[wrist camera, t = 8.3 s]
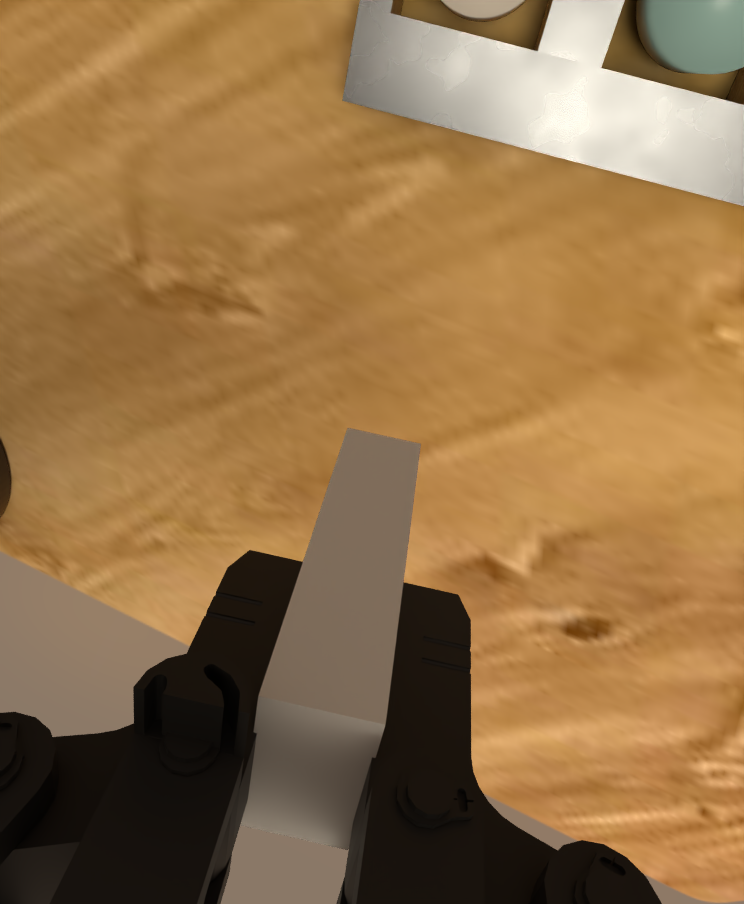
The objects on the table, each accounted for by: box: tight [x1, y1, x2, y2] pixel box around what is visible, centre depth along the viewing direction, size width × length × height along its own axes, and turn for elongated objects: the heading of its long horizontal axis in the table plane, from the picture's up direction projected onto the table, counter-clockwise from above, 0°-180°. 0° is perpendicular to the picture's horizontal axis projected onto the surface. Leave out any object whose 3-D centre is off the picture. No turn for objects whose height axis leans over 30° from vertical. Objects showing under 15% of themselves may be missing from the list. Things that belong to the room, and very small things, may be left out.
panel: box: [342, 0, 744, 206], centre depth 24 cm, size 24×12×3 cm, turn 77°
